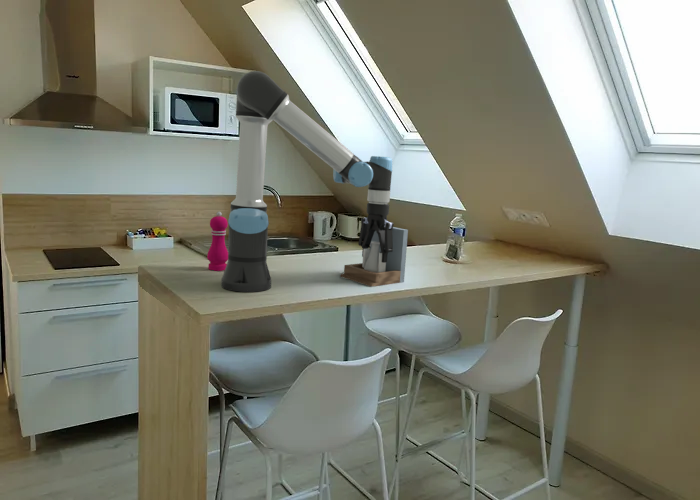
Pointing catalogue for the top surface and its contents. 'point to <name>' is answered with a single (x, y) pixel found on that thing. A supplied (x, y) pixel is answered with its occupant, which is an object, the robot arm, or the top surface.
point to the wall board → (395, 251)
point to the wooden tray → (370, 275)
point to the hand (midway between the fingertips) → (373, 269)
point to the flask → (373, 258)
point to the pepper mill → (218, 244)
